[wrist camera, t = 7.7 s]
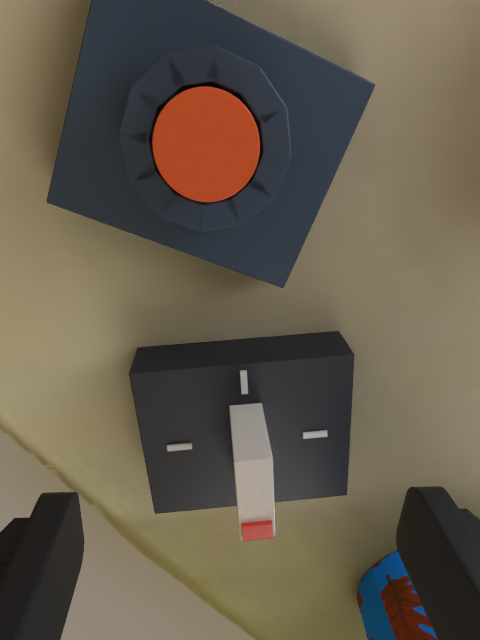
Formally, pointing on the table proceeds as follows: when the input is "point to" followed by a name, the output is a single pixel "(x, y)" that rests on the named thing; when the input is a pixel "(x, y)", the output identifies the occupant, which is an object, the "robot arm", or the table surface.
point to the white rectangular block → (253, 472)
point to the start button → (206, 144)
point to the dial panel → (237, 389)
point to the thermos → (392, 604)
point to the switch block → (182, 74)
